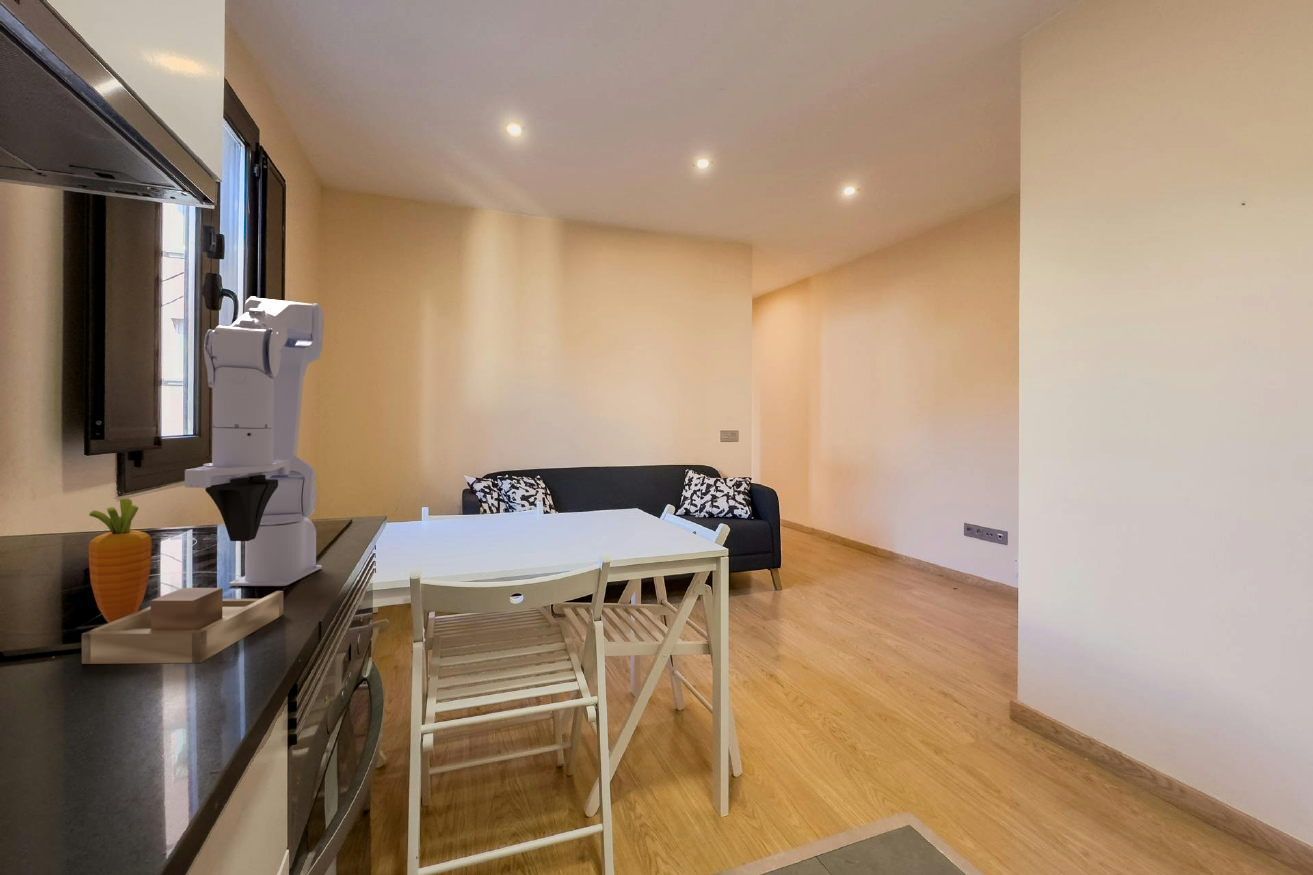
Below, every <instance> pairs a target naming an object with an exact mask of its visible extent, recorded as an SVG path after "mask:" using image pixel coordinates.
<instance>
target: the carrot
mask: <svg viewBox="0 0 1313 875" xmlns="http://www.w3.org/2000/svg"><path fill="white" fill-rule="evenodd" d="M119 504H120V514H121V515H119V513H118V510H117V509H116V508H115V507H114V506H111V507H107V508H106V511H107V513H108V515H109V516H108V515H106V513H103V512H101V511H97V510H92V511H90V512H89V515H88V516H90V517H93V518H95V519H98V520H99V521H101V522H102V523H103V524H105V525H106V527H107V528H108V529H109V530H110V531H109V532H105V533H102V534H100V535H97V536H95V537H94V538H93V539H91V540H90V541H89V544H88V568H89V569H88V570H89V578H90V586H91V589H92V592H93V595H94V596H93V597H94V600H95V602H96V605H97V608H98V610H99V612H100V613H101V614H102V617H103V618H104V620H106V622H107V624H108V623H110V622H113V621H115V620H118V619H120V618H123V617H125V616H128V615H130V614H133V613H135V612H138V611H139V610H140V609H139V608H140V607H141V605H142V603H143V601H144V598H145V594H146V592H147V591H146V590H147V587H148V583H149V578H150V575H151V574H150V573H151V563H152V543H153V542H152V541H153V540H152V538H151V535H150V534H148V533H147V532H145V531H140V530H137V529H131V526H132V521H133V520H134V518H135V516H136V514H137V512H138V510H139V507H138V506H137V505H136V504H133V501H132V500H131V499H129V498H122V499H120V500H119Z"/></svg>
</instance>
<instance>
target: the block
mask: <svg viewBox="0 0 1313 875" xmlns="http://www.w3.org/2000/svg"><path fill="white" fill-rule="evenodd" d="M223 599H224V598H223V587H183V588H180V589H176V590H175V591H172V592H169V593H167V594H164V595H161V596H159V597H156V598H153V599H151V600H150V606H151V630H200V629H202V628H204V627H206V626H208V625H210V624H212V623H214V622H216V621H218V620H220V619H222V603H223Z"/></svg>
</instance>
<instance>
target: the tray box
mask: <svg viewBox="0 0 1313 875" xmlns="http://www.w3.org/2000/svg"><path fill="white" fill-rule="evenodd" d="M281 616H284V591H283V590H276V591H274V592H271V593H270V594H267V595H266V596H264V597H262V598H223V603H222V619H220V620H218V621H216V622H214V623H212V624H210V625H208V626H206V627H204V628H202V629H200V630H151V605H150V606H148V607H145V608H143V609H141V610H140V609H139V610H138V611H137V612H135V613H133V614H130V615H128V616H125V617H123V618H120V619H118V620H115V621H113V622H110V623H108V622H107V623H106V624H103V625H100V626H98V627H95V628H93V629H91V630H87V631H85V632H83V633H81V664H84V665H86V664H87V665H88V664H90V665H93V664H94V665H95V664H97V665H98V664H100V665H101V664H107V665H109V664H110V665H111V664H201V663H203V662H205V661H206V660H208V659H210V658H212V657H213V656H215V655H216V654H218V653H220V652H221V651H223V650H225V649H227V648H228V647H230V646H232V645H233V644H235V643H236V642H238V641H240V640H242V639H244V638H246V637H247V636H249V635H250V634H252V633H254V632H256V631H258V630H259V629H261V628H263V627H264V626H266V625H269V623H271V622H273V621H274V620H275V621H276V619H278V618H279V617H281Z"/></svg>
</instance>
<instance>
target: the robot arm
mask: <svg viewBox="0 0 1313 875" xmlns="http://www.w3.org/2000/svg"><path fill="white" fill-rule="evenodd" d="M323 310H324V309H323V307H321V305H320V304H319V303H316V302H314V303H306V302H297V301H288V300H279V299H269V298H262V297H261V298H259V297H257V296H252V295H251V296H250V297H249V298H248V299H247V300H246V301H245V303H244V308H243V314H242V315H241V316H239V317H238V318H237V319H236V320H235V321H233V323H231V324H230V325H228V326H227V325H217V326H216V327H215V329H208V330H207V331H206V332H205V335H204V341H203V355H204V363H205V367H206V370H207V383H208V384H207V385H208V387H209V388H212V413H211V414H212V424H211V425H212V428H211V429H212V430H211V432H212V434H211V435H212V436H211V440H212V441H211V444H212V445H211V446H212V447H211V450H212V451H211V452H212V453H211V462H209V463H203V464H202V466H199V467H195V468H190V469H184V488H188V489H189V488H191V489H192V488H197V489H205V493H207V494H208V495H209V497H210V498H211V500H212V501H213V502H214V504H215V505H216V507H217V510H218V511H219V512H220V515H221V518H222V520H223V522H224V526H225V529H226V532H227V535H228V538H229V540H230V542H244V575H243V576H241V577H239V578H237V579H234V580H232V581H230V582H229V584H228V585H229V586H230V587H232V586H234V587H236V586H237V587H240V586H242V587H285V586H289V585H291V584H292V583H294V582H296V581H298V580H301V579H303V578H305V577H306V576H308V575H311V574H313V573H314V572H316V571H318V570H320V569H322V568H323V566H322V564H317V530H316V527H315V526H316V525H314V523H313V522H312V520H311V519H309V518H308V517H311V516H312V514H313V513H315V509H316V504H317V483H316V482H317V481H316V478H317V476H316V471H315V470H314V467H312V465H310V464H309V463H308V462H306V461H304V460H303V459H301V458H299V457H298V456H297V455H298V448H299V447H298V445H299V437H300V436H299V434H300V423H301V413H302V399H303V390H304V381H305V380H304V379H305V376H306V373H307V372H306V371H307V368H308V365H309V364H310V363H312V362H315V361H316V360H319V359H320V358H321V354H322V352H323V342H324V332H325V330H324V329H325V328H324V326H325V324H324V323H325V322H324V321H325V320H324V312H323Z"/></svg>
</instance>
